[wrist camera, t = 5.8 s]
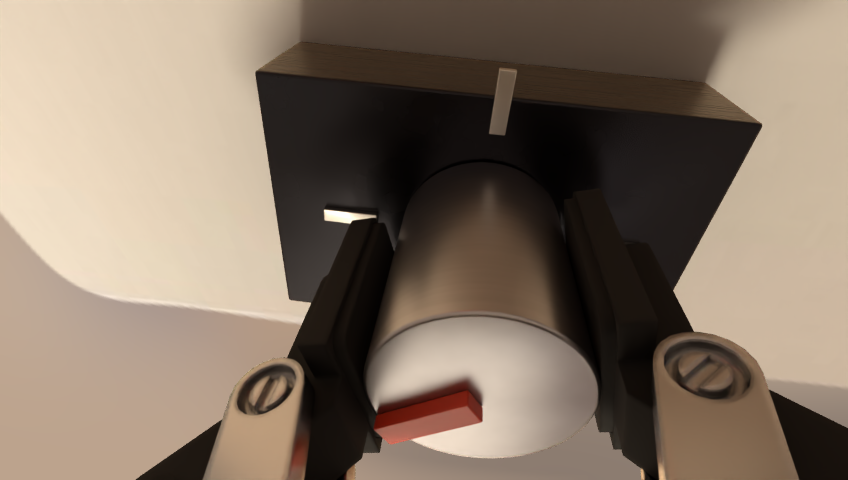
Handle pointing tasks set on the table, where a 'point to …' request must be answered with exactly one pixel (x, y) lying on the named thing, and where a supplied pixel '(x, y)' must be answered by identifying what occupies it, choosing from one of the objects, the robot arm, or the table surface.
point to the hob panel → (487, 144)
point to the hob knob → (481, 322)
